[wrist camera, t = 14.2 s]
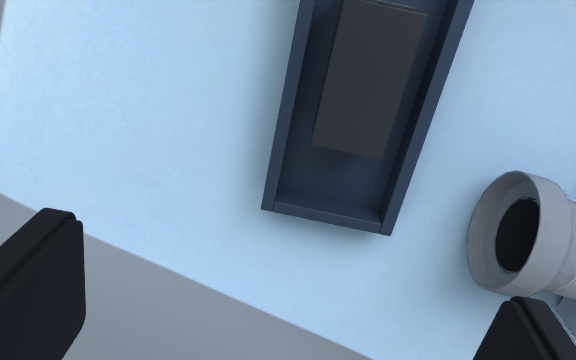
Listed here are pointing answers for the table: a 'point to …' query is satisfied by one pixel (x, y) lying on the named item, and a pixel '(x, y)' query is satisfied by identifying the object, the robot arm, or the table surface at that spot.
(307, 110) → the tray
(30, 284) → the robot arm
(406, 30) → the eraser
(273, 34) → the table surface
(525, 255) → the digital camera
